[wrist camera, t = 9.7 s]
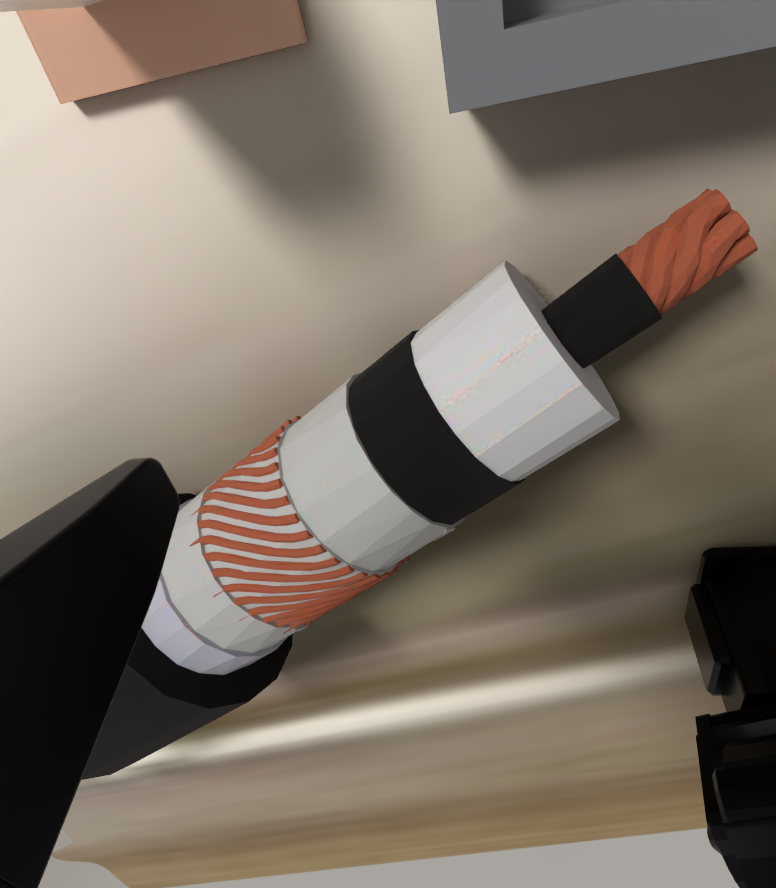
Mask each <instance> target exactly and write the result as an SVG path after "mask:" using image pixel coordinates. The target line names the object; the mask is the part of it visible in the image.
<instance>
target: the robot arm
mask: <svg viewBox="0 0 776 888" xmlns="http://www.w3.org/2000/svg"><path fill="white" fill-rule="evenodd" d="M179 505H180V502H179V496H178V493H177V491H176V490H175V488H174V486H173V484H172V483H171V481H170V479H169V477H168V476H167V474H166V472H165V470H164V469H163V467H162V465H161V464H160V462H158V461H157V460H156V459H154V458H138V459H130V460H128V461H126V462H124V463H123V464H121V465H119V466H118V467H116V468H115V469H113V470H111V471H110V472H108V473H106V474H105V475H103V476H102V477H100V478H98V479H97V480H95V481H94V482H92V483H90V484H89V485H87V486H86V487H84V488H82V489H81V490H79V491H77V492H76V493H74V494H73V495H71V496H69V497H68V498H66V499H65V500H63V501H61V502H60V503H58V504H57V505H55V506H53V507H52V508H50V509H49V510H47V511H45V512H44V513H42V514H40V515H39V516H37V517H36V518H34V519H32V520H31V521H29V522H28V523H26V524H24V525H23V526H21V527H20V528H18V529H16V530H15V531H13V532H11V533H10V534H8V535H7V536H5V537H3V538H2V539H0V888H38V886H39V884H40V881H41V878H42V876H43V874H44V871H45V869H46V866H47V864H48V861H49V859H50V856H51V854H52V851H53V849H54V846H55V844H56V841H57V839H58V836H59V834H60V831H61V829H62V826H63V823H64V821H65V818H66V816H67V813H68V811H69V808H70V806H71V803H72V801H73V798H74V796H75V793H76V791H77V788H78V786H79V783H80V781H81V778H82V776H83V773H84V771H85V768H86V766H87V763H88V761H89V758H90V756H91V753H92V751H93V748H94V746H95V743H96V741H97V738H98V735H99V733H100V730H101V728H102V725H103V723H104V720H105V718H106V715H107V713H108V710H109V708H110V705H111V703H112V700H113V698H114V695H115V693H116V690H117V688H118V685H119V683H120V680H121V678H122V675H123V673H124V670H125V668H126V665H127V663H128V660H129V658H130V655H131V652H132V650H133V647H134V645H135V642H136V640H137V637H138V635H139V632H140V630H141V627H142V625H143V622H144V620H145V617H146V615H147V612H148V610H149V607H150V605H151V602H152V599H153V597H154V594H155V591H156V588H157V585H158V582H159V578H160V575H161V571H162V568H163V564H164V561H165V557H166V554H167V550H168V547H169V543H170V540H171V536H172V533H173V529H174V526H175V522H176V519H177V515H178V512H179ZM685 620H686V624H687V627H688V630H689V634H690V637H691V640H692V644H693V647H694V650H695V654H696V657H697V660H698V664H699V667H700V670H701V673H702V677H703V680H704V683H705V687H706V690H707V691H708V692H709V693H710V694H712V695H713V696H722V699H723V702H724V705H725V708H726V711H727V712H725V713H721V714H716V715H710V714H705V715H700V716H696V726H697V734H698V735H696V741H697V749H698V757H699V765H700V773H701V781H702V789H703V797H704V805H705V813H706V820H707V824H708V826H707V834H708V838H709V841H710V843H711V845H712V847H713V848H714V849H715V850H716V851H718V852H719V853H720V854H721V855H722V856H723V858H724V860H725V862H726V865H727V867H728V869H729V871H730V873H731V874H732V876H733V878H734V880H735V881H736V883H737V884H738V886H739V887H740V888H776V547H735V548H712V549H709V550H706V551H705V552H704V553H703V554H702V558H701V563H700V568H699V573H698V579H697V584H694V585H693V586H692V587H691V588H690V592H689V597H688V603H687V608H686V614H685Z"/></svg>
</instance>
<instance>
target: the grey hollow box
mask: <svg viewBox="0 0 776 888" xmlns="http://www.w3.org/2000/svg"><path fill="white" fill-rule="evenodd" d="M436 5H437V14H438V22H439V30H440V39H441V47H442V55H443V63H444V72H445V80H446V88H447V97H448V105H449V113H450V114H451V113H456V112H461V111H465V110H470V109H475V108H480V107H485V106H490V105H494V104H499V103H504V102H509V101H514V100H519V99H524V98H528V97H533V96H538V95H543V94H548V93H553V92H557V91H562V90H567V89H572V88H577V87H582V86H587V85H591V84H596V83H601V82H606V81H611V80H616V79H620V78H625V77H630V76H635V75H640V74H645V73H650V72H654V71H659V70H664V69H669V68H674V67H679V66H683V65H688V64H693V63H698V62H703V61H708V60H713V59H717V58H722V57H727V56H732V55H737V54H742V53H746V52H751V51H756V50H761V49H766V48H771V47H775V46H776V0H436Z"/></svg>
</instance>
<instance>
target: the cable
mask: <svg viewBox="0 0 776 888" xmlns="http://www.w3.org/2000/svg"><path fill="white" fill-rule="evenodd" d="M749 232H750V231H749V226H748V225H747V223H746V221H745V220H744V219H743V218H742V216H741V215H740V214H739V213H738V212H737V211H735V210H732V209H731V206H730V204H729V202H728V200H727V199H726V198H725V197H724V195H723V194H722V193H721V192H720V191H718V190H716V189H715V190H713V191H712V190H709V189H706V190H705V191H704V192H703V193H702V194H701V195H700V196H698V197H697V198H696V199H694V200H693V201H691V202H689V203H688V204H686V205H685V206H683V207H681V208H680V209H678V210H677V211H675V212H674V213H673V214H672V215H671V216H670V217H669V218H668V219H667V221H666V222H665V223H662V224H661V225H659V226H657V227H656V228H654V229H652V230H651V231H649V232H647V233H646V234H645V235H644V236H643V237H642V238H641V239H640V240H639V241H638V242H637V243H636V244H635V245H633V246H629V247H627V248H626V249H625V250H623V251H622V252H621V253H619V254H618V255H617V254H615V255H613V256H612V257H611V258H609V259H608V260H607V261H605V262H604V263H603V264H601V265H600V266H599V267H598V268H596V269H595V270H594V271H592V272H591V273H590V274H588V275H587V276H586V277H584V278H583V279H582V280H581V281H579V282H578V283H577V284H575V285H574V286H573V287H571V288H570V289H569V290H568V291H566V292H565V293H564V294H562V295H561V296H560V297H558V298H557V299H556V300H554V301H553V302H552V303H551V304H549V305H547V303H546V302H545V301H544V300H543V298H542V297H541V296H540V295H539V293H538V292H537V291H536V290H535V288H534V287H533V286H532V285H531V284H530V282H529V281H528V280H527V279H526V278H525V277H524V276H523V275H522V274H521V273H520V272H519V271H518V269H517V268H516V267H514V266H513V265H512V264H510V263H509V262H507V261H506V260H505V261H504V262H503V263H502V264H500V265H499V266H498V267H497V268H495V269H494V270H493V271H492V272H490V273H489V274H488V275H487V276H486V277H484V278H483V279H482V280H481V281H479V282H478V283H477V284H476V285H474V286H473V287H472V288H471V289H470V290H468V291H467V292H466V293H465V294H463V295H462V296H461V297H460V298H458V299H457V300H456V301H455V302H454V303H452V304H451V305H450V306H449V307H447V308H446V309H445V310H444V311H443V312H441V313H440V314H439V315H438V316H436V317H435V318H434V319H433V320H431V321H430V322H429V323H428V324H427V325H425V326H424V327H423V328H422V329H420V330H417V331H412V332H411V333H410V334H409V335H407V336H406V337H405V338H404V339H403V340H401V341H400V342H399V343H398V344H396V345H395V346H394V347H393V348H392V349H390V350H389V351H388V352H387V353H386V354H384V355H383V356H382V357H381V358H379V359H378V360H377V361H376V362H375V363H373V364H372V365H371V366H370V367H369V368H367V369H366V370H365V371H364V372H362V373H360V374H356V375H353V376H352V377H351V378H349V379H348V380H347V381H346V382H345V383H343V384H342V385H341V386H340V387H339V388H337V389H336V390H335V391H334V392H332V393H331V394H330V395H329V396H328V397H326V398H325V399H324V400H323V401H322V402H320V403H319V404H318V405H317V406H316V407H314V408H313V409H312V410H311V411H310V412H308V413H307V414H306V415H305V416H304V417H302V418H300V416H296V417H295V418H294V419H293V420H292V421H291V420H287V421H286V422H285V423H284V424H283V425H282V426H281V427H280V428H279V429H277V430H276V431H275V432H274V433H272V434H271V435H270V436H268V437H267V438H266V439H265V440H264V441H263V442H262V444H261V445H260V446H258V447H256V448H254V449H253V450H252V451H251V452H250V453H249V454H248V456H247V457H246V458H245V459H243V460H241V461H239V462H237V463H236V465H235V466H234V468H233V469H232V470H229V471H228V472H226V473H225V474H223V475H222V476H220V477H219V478H218V479H217V480H216V481H214V482H213V483H212V484H211V485H210V486H208V487H207V488H206V489H205V490H204V491H202V492H201V493H200V494H199V495H197V496H196V495H193V494H190V493H186V494H178V496H179V502H180V505H179V512H178V515H177V519H176V522H175V526H174V529H173V533H172V536H171V540H170V543H169V547H168V550H167V554H166V557H165V561H164V564H163V568H162V571H161V575H160V578H159V582H158V585H157V588H156V591H155V594H154V597H153V599H152V602H151V605H150V607H149V610H148V612H147V615H146V617H145V620H144V622H143V625H142V627H141V630H140V632H139V635H138V637H137V640H136V642H135V645H134V647H133V650H132V652H131V655H130V658H129V660H128V663H127V665H126V668H125V670H124V673H123V675H122V678H121V680H120V683H119V685H118V688H117V690H116V693H115V695H114V698H113V700H112V703H111V705H110V708H109V710H108V713H107V715H106V718H105V720H104V723H103V725H102V728H101V730H100V733H99V735H98V738H97V741H96V743H95V746H94V748H93V751H92V753H91V756H90V758H89V761H88V763H87V766H86V768H85V771H84V773H83V776H82V778H81V780H83V779H89V778H94V777H100V776H105V775H111V774H113V773H115V772H117V771H119V770H121V769H123V768H125V767H127V766H129V765H131V764H133V763H135V762H137V761H139V760H141V759H142V758H144V757H146V756H148V755H150V754H152V753H154V752H155V751H157V750H159V749H161V748H163V747H165V746H167V745H169V744H170V743H172V742H174V741H176V740H178V739H180V738H182V737H184V736H185V735H187V734H189V733H191V732H193V731H195V730H197V729H198V728H200V727H202V726H204V725H206V724H208V723H210V722H212V721H213V720H215V719H217V718H219V717H221V716H223V715H225V714H226V713H228V712H230V711H232V710H234V709H236V708H238V707H240V706H241V705H243V704H245V703H247V702H249V701H250V700H251V699H253V698H254V697H255V696H256V695H257V694H259V693H260V692H261V691H262V690H263V689H265V688H266V687H267V686H268V685H270V684H271V683H272V682H273V681H274V680H276V679H277V677H278V675H279V673H280V671H281V669H282V666H283V664H284V662H285V660H286V658H287V656H288V653H289V651H290V649H291V647H292V636H293V633H295V632H296V631H298V632H299V631H301V630H303V629H305V628H307V627H308V626H310V623H311V622H313V621H314V620H316V619H318V618H320V617H321V616H323V615H325V614H326V613H328V612H330V611H331V610H333V609H334V608H336V607H338V606H340V605H341V604H343V603H345V602H347V601H348V600H350V599H351V598H353V597H355V596H357V595H358V594H360V593H362V592H363V591H365V590H367V589H369V588H371V587H372V586H374V585H376V584H377V583H379V582H380V581H382V580H384V579H385V578H387V577H389V576H390V575H392V574H393V573H395V572H397V571H398V569H397V568H398V567H399V566H400V565H402V564H403V563H404V561H403V560H407V561H410V554H412V553H414V552H415V551H417V550H419V549H420V548H422V547H423V546H425V545H427V544H428V543H430V542H432V541H436V540H438V539H439V538H441V537H443V536H444V535H446V534H448V533H449V532H451V531H453V530H455V527H456V526H457V525H459V524H460V523H462V522H463V521H465V517H466V516H467V515H469V514H471V513H472V512H474V511H476V510H477V509H479V508H480V507H482V506H484V505H485V504H487V503H489V502H490V501H492V500H493V499H495V498H497V497H498V496H500V495H501V494H503V493H505V492H506V491H508V490H510V489H511V488H513V487H514V486H516V485H518V484H519V483H521V482H522V481H524V480H525V477H527V476H529V475H530V474H532V473H533V472H535V471H537V470H538V469H540V468H542V467H543V466H545V465H547V464H548V463H550V462H552V461H553V460H555V459H557V458H558V457H560V456H561V455H563V454H565V453H566V452H568V451H570V450H571V449H573V448H575V447H576V446H578V445H580V444H581V443H583V442H585V441H586V440H588V439H589V438H591V437H593V436H594V435H596V434H598V433H599V432H601V431H603V430H604V429H606V428H608V427H609V426H611V425H612V424H614V423H616V422H617V421H619V420H620V418H619V411H618V409H617V407H616V405H615V403H614V401H613V399H612V397H611V395H610V394H609V392H608V390H607V389H606V387H605V385H604V384H603V382H602V380H601V379H600V377H599V375H598V374H597V372H596V371H595V369H594V368H593V366H592V365H591V364H592V363H594V362H595V361H597V360H598V359H600V358H602V357H603V356H605V355H606V354H608V353H609V352H611V351H612V350H614V349H615V348H617V347H619V346H620V345H622V344H623V343H625V342H626V341H628V340H629V339H631V338H632V337H634V336H635V335H637V334H639V333H640V332H642V331H643V330H645V329H646V328H648V327H649V326H651V325H652V324H654V323H656V322H657V321H659V320H660V319H662V316H661V314H663V313H664V312H666V311H668V310H669V309H671V308H672V307H674V306H676V304H677V303H678V302H679V300H680V299H684V298H687V297H688V296H690V295H692V294H693V293H695V292H696V291H698V290H699V289H700V288H701V287H702V286H703V285H705V284H706V283H707V282H708V281H709V280H710V279H713V278H716V277H719V276H720V275H722V274H723V273H725V272H726V271H728V270H729V269H731V268H732V267H734V266H735V265H736V264H738V263H739V262H741V261H742V260H744V259H745V258H747V257H748V256H750V255H751V254H753V253H754V252H756V251H757V250H758V248H757V245H756V243H755V242H754V240H753V238H752V237H751V236H750V235H749V234H748V233H749Z"/></svg>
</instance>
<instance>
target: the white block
mask: <svg viewBox="0 0 776 888" xmlns="http://www.w3.org/2000/svg"><path fill="white" fill-rule="evenodd" d="M102 1H105V0H0V12H7V11H24V10H41V9H58V8H75V7H85V6H89V5H92V4H95V3H98V2H102Z"/></svg>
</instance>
